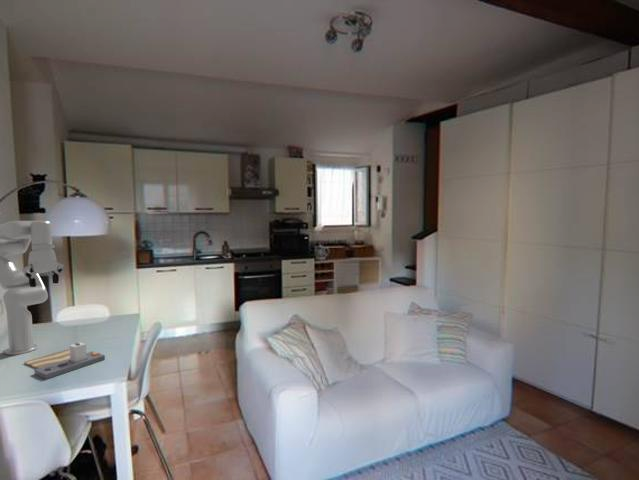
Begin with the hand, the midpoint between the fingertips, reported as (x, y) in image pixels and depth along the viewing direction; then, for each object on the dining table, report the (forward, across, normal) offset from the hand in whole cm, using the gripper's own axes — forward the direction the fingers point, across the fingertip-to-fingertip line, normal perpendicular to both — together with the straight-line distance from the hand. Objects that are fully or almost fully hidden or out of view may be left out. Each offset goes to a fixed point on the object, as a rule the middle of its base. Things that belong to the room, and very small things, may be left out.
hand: (44, 285), depth 169 cm
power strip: (+36, 0, +16) cm, 39 cm away
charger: (+36, -2, +17) cm, 40 cm away
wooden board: (+36, -1, +1) cm, 36 cm away
